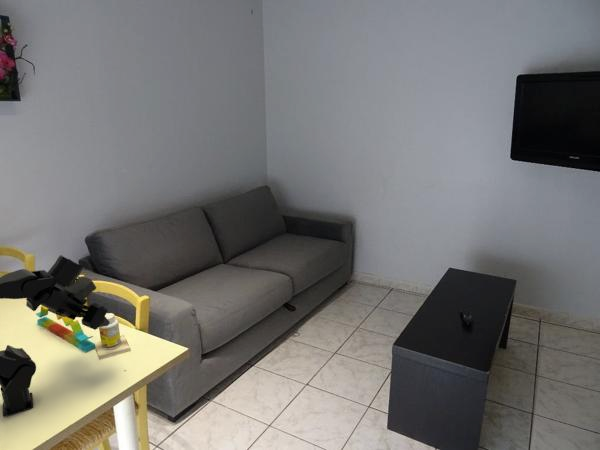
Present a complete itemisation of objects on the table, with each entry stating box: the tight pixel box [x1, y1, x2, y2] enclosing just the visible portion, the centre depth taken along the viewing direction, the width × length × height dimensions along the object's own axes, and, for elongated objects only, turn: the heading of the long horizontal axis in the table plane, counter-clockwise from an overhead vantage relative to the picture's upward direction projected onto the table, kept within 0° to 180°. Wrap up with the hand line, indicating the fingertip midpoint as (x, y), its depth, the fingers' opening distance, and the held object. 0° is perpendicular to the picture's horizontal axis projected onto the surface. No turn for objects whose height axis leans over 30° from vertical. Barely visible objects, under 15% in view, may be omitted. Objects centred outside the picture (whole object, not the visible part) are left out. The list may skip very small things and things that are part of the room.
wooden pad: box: [94, 334, 131, 360], centre depth 140 cm, size 9×9×1 cm
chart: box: [35, 305, 96, 353], centre depth 145 cm, size 30×3×15 cm, turn 55°
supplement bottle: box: [98, 312, 121, 349], centre depth 138 cm, size 6×6×10 cm
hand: (97, 319), depth 130 cm, fingers open, 9 cm apart
